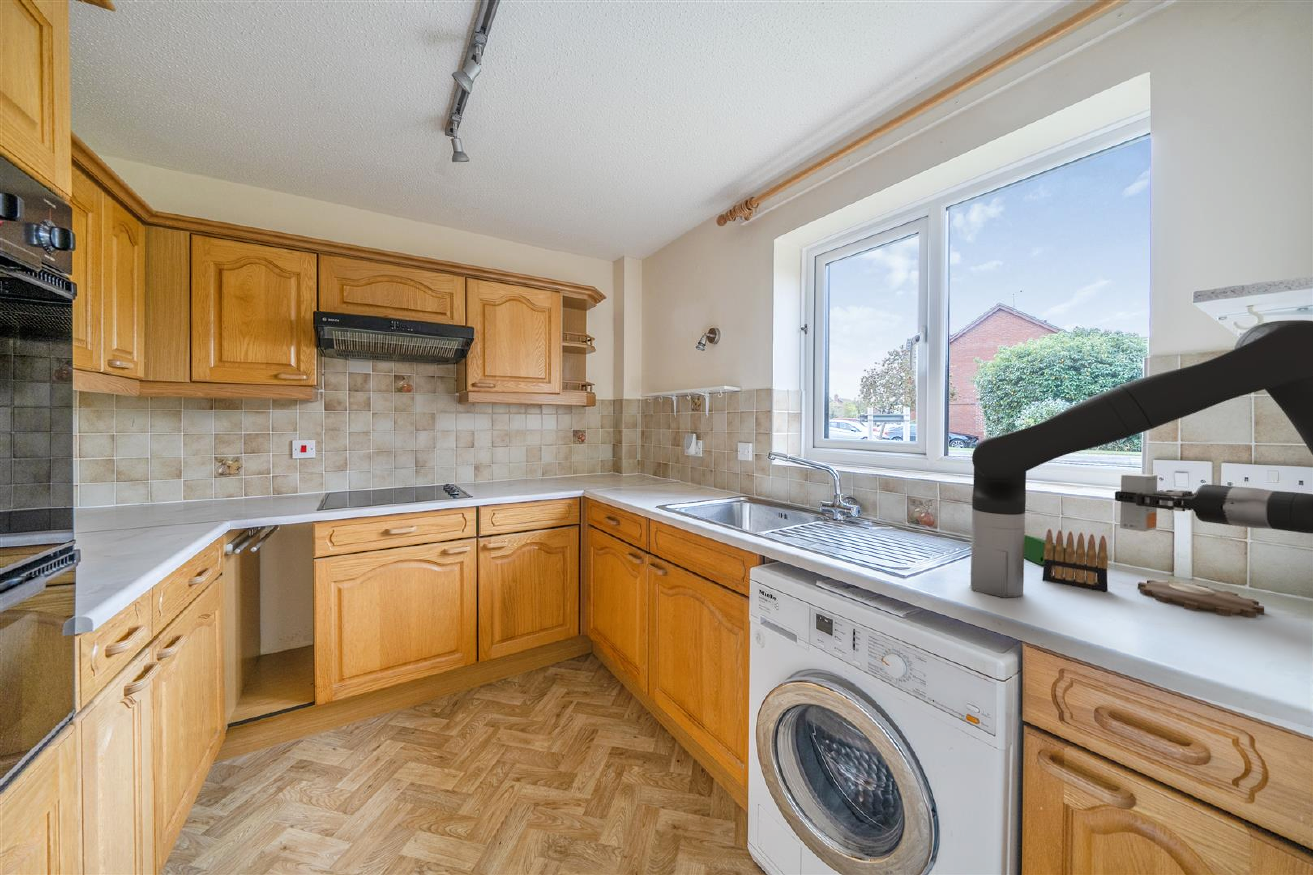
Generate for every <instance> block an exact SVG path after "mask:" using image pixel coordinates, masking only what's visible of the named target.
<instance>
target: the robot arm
mask: <svg viewBox="0 0 1313 875" xmlns="http://www.w3.org/2000/svg"><path fill="white" fill-rule="evenodd" d="M1264 390H1265V391H1266V393H1268V395H1269V396H1270V397H1271V398H1272V400H1273V401H1274V402H1275V403H1276V404H1277V406H1279V408H1280V409H1281V411H1283V413H1284V414H1285V416H1286V418H1288V420H1289V421H1290V423H1291V424H1292V426H1293V427H1294V428H1295V430H1296V432H1297V434H1299V436H1300V437H1301V439H1302V441H1303V442H1304V444H1305V445H1306V447H1307V449H1308V450H1309V452H1310V454H1311V455H1312V456H1313V320H1309V319H1308V320H1307V319H1306V320H1305V319H1299V320H1298V319H1293V320H1292V319H1290V320H1276V321H1275V320H1273V321H1270V322H1269V321H1267V322H1265V323H1264V322H1263V323H1261V324H1258V325H1255V326H1253V327H1251V328H1249V329H1248V330H1246V331H1245V332H1244V333H1243V334H1242V335H1241V336H1240V337H1239V338H1238V339H1237V341H1236V343H1235V345H1234V349H1232V350H1230V351H1227V352H1225V353H1223V354H1221V355H1219V356H1217V357H1216V356H1215V357H1213V358H1211V359H1208V360H1205V361H1203V362H1199V363H1196V364H1192V365H1189V366H1186V367H1181V368H1178V369H1173V370H1170V371H1169V370H1168V371H1165V372H1159V373H1155V374H1152V375H1149V376H1148V375H1147V376H1145V377H1140V378H1139V379H1134V380H1131V381H1128V382H1125V383H1122V384H1120V385H1117V386H1114V387H1113V388H1110V389H1107V390H1105V391H1103V392H1100V393H1098V394H1095V395H1093V396H1091V397H1089V398H1088V397H1087V399H1085V400H1082V401H1079V402H1078V403H1076V404H1074V405H1072V406H1070V407H1068V408H1066V409H1064V410H1063V411H1060V412H1059V413H1057V414H1056V415H1054V416H1051V417H1049V418H1048V419H1046V420H1043V421H1041V422H1039V423H1036V424H1034V425H1031V426H1028V427H1023V428H1021V429H1018V430H1015V431H1012V432H1008V433H1004V434H1001V435H992V436H989V437H987V438H984V440H982V441H980V442H979V443H978V444H977V445H976V446H975V448H974V450H973V453H972V455H971V458H972V459H971V460H972V466H973V488H972V497H971V498H972V500H971V506H972V508H971V549H970V551H971V552H970V553H971V554H970V586H971V590H973V591H977V592H980V593H985V594H988V595H993V596H997V597H998V598H1000V597H1001V598H1003V599H1006V598H1017V597H1022V596H1023V595H1024V585H1025V584H1024V581H1025V579H1024V578H1025V575H1024V574H1025V573H1024V572H1025V557H1024V539H1025V535H1026V534H1025V533H1026V506H1027V505H1026V500H1027V495H1026V494H1027V490H1026V488H1027V486H1026V485H1027V472H1028V471H1030V470H1032V469H1034V468H1035V467H1036V468H1037V467H1038V466H1041V465H1043V464H1045V463H1047V462H1050V461H1052V460H1054V459H1057V458H1060V457H1063V456H1066V455H1069V454H1073V453H1078V452H1082V451H1085V450H1086V451H1087V450H1090V449H1093V448H1097V447H1099V446H1103V445H1107V444H1109V443H1110V444H1111V443H1114V442H1117V441H1121V440H1123V439H1127V438H1129V437H1132V436H1136V435H1138V434H1141V433H1144V432H1146V431H1150V430H1152V429H1155V428H1158V427H1160V426H1163V425H1165V424H1169V423H1172V422H1174V421H1177V420H1180V419H1182V418H1185V417H1187V416H1190V415H1193V414H1196V413H1198V412H1202V411H1204V410H1206V409H1208V408H1211V407H1214V406H1215V405H1219V404H1221V403H1224V402H1226V401H1230V400H1232V399H1236V398H1239V397H1243V396H1245V395H1249V394H1253V393H1257V392H1261V391H1264ZM1145 497H1148V498H1149V502H1145ZM1114 500H1115V501H1117V502H1120V503H1121V502H1129V503H1136V505H1138V506H1146V507H1154V508H1157V509H1162V510H1168V511H1172V510H1173V511H1175V512H1186V511H1192V510H1193V511H1194V513H1195V517H1196V518H1197V519H1198V520H1199V521H1201V522H1204V523H1210V524H1211V523H1212V524H1220V525H1226V526H1228V525H1229V526H1235V527H1241V528H1242V527H1244V528H1250V529H1251V528H1252V529H1263V530H1265V529H1268V530H1275V531H1276V530H1279V531H1287V532H1295V533H1299V534H1300V533H1301V534H1310V535H1311V534H1312V535H1313V493H1304V492H1297V491H1296V492H1294V491H1282V490H1281V491H1279V490H1270V489H1264V488H1258V487H1248V486H1247V487H1246V486H1245V487H1243V486H1233V485H1232V486H1231V485H1221V484H1220V485H1219V484H1208V483H1207V484H1203V485H1200V486H1199V487H1198V488H1197V490H1196V491H1195V492H1194V491H1192V490H1176V489H1167V490H1161V489H1160V490H1157V491H1154V492H1153V493H1143V492H1139V493H1134V492H1124V491H1121V490H1119V491H1118V490H1117V491H1115V492H1114Z"/></svg>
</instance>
